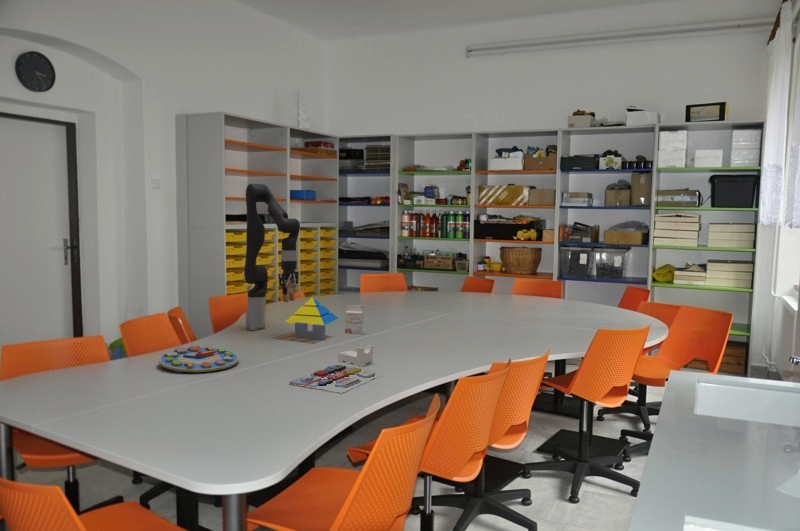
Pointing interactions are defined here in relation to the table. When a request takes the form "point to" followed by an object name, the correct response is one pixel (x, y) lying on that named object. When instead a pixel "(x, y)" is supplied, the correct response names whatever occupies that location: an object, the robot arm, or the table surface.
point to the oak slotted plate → (290, 292)
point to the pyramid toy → (312, 314)
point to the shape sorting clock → (198, 359)
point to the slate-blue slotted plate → (316, 332)
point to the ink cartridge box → (354, 320)
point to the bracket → (357, 355)
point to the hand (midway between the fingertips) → (288, 293)
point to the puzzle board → (333, 377)
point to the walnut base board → (298, 338)
